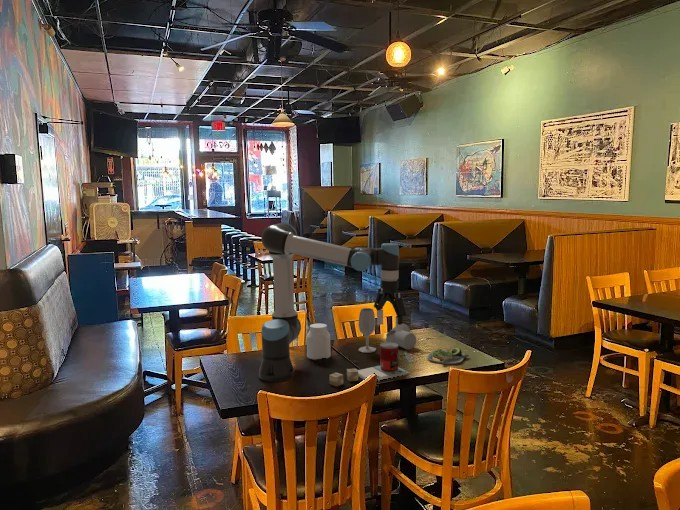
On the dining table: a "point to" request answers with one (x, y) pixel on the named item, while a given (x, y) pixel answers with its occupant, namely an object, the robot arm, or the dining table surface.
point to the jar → (318, 342)
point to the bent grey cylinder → (402, 337)
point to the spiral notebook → (380, 373)
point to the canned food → (389, 356)
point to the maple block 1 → (336, 379)
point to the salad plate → (447, 356)
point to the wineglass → (367, 327)
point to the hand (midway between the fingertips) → (389, 328)
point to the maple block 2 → (352, 374)
